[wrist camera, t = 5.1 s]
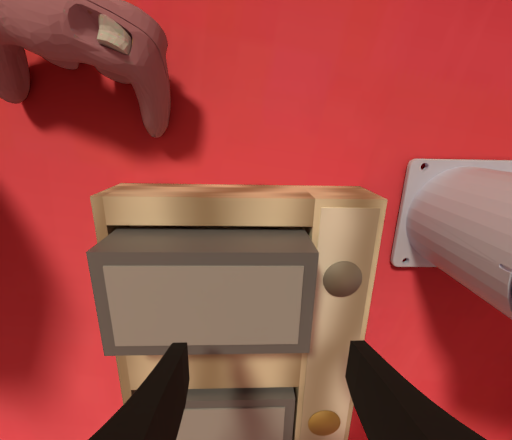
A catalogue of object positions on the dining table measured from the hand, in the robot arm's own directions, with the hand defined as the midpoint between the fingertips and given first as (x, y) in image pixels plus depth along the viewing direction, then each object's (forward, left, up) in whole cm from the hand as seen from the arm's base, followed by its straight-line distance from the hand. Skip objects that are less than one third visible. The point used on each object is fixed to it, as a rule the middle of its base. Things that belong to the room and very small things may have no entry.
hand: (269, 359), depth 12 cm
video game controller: (+10, -13, -10) cm, 19 cm away
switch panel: (+1, +5, -9) cm, 11 cm away
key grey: (+3, -1, -6) cm, 7 cm away
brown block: (+3, +11, -8) cm, 14 cm away
